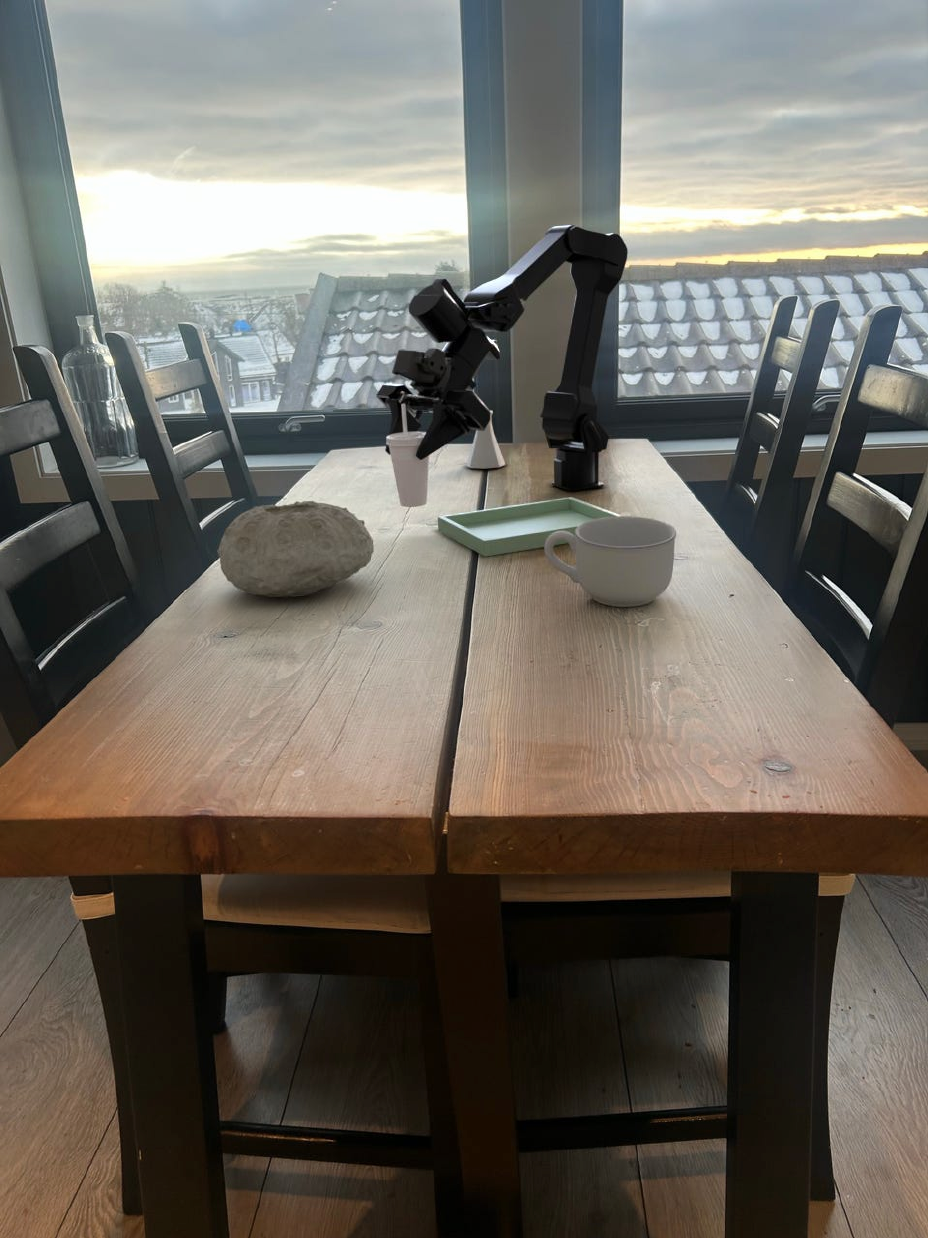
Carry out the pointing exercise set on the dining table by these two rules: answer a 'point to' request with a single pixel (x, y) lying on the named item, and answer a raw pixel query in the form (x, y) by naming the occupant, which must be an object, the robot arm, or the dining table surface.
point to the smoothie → (409, 465)
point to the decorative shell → (293, 548)
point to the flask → (485, 450)
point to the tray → (518, 525)
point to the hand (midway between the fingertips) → (402, 455)
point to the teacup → (619, 558)
